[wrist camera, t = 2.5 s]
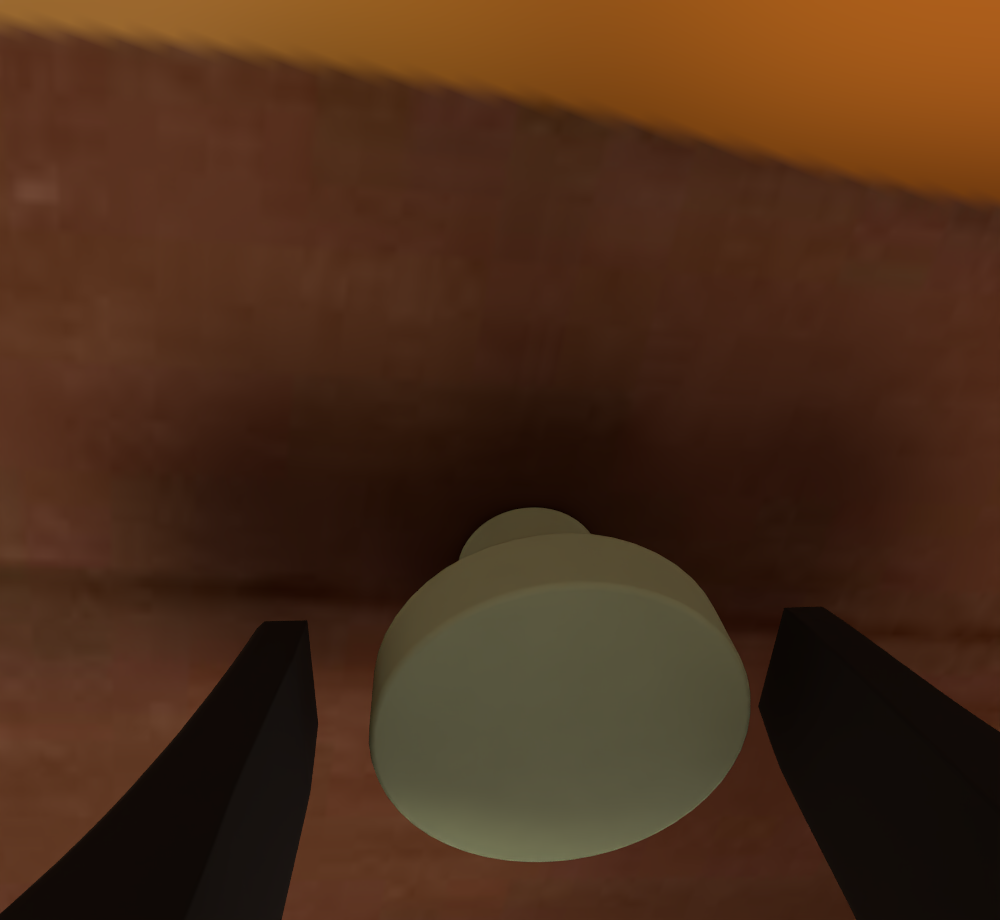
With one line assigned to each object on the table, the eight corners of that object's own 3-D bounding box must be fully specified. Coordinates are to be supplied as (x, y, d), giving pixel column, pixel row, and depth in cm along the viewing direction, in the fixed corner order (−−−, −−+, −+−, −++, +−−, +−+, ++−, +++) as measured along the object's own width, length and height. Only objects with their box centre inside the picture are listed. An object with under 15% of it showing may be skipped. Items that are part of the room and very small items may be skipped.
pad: (689, 437, 13) (790, 579, 9) (650, 670, 15) (718, 854, 12) (379, 439, 12) (358, 588, 9) (389, 679, 15) (376, 874, 11)
